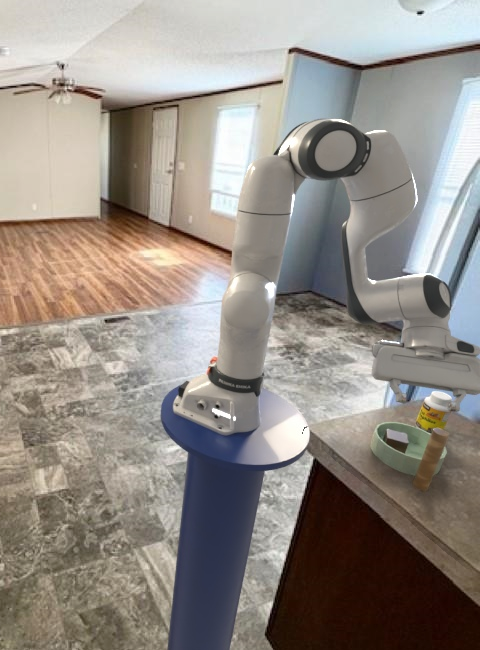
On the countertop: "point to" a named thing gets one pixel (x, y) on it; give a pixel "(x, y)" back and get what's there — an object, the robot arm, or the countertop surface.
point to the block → (396, 440)
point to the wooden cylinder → (430, 459)
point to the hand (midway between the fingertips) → (426, 406)
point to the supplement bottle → (434, 412)
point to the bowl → (413, 452)
